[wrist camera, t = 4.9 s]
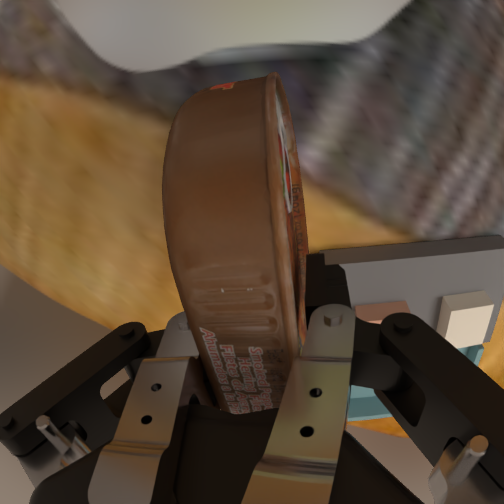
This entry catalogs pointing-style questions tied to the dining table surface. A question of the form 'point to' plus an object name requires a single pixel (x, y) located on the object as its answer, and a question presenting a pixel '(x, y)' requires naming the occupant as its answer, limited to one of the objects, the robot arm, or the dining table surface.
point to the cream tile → (465, 318)
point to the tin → (238, 237)
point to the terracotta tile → (380, 311)
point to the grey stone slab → (424, 274)
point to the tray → (371, 407)
